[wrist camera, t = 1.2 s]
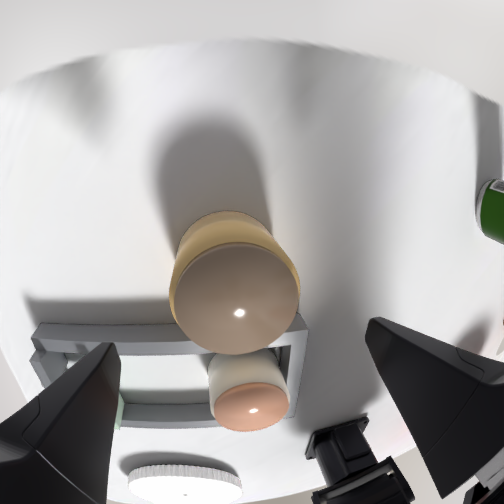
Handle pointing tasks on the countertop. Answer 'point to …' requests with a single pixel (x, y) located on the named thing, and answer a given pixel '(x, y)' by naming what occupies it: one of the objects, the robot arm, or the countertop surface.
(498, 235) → the beer can
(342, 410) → the countertop surface
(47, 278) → the countertop surface
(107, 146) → the countertop surface
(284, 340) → the lane
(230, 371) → the cream jar
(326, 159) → the countertop surface
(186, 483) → the plastic lid
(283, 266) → the amber jar
